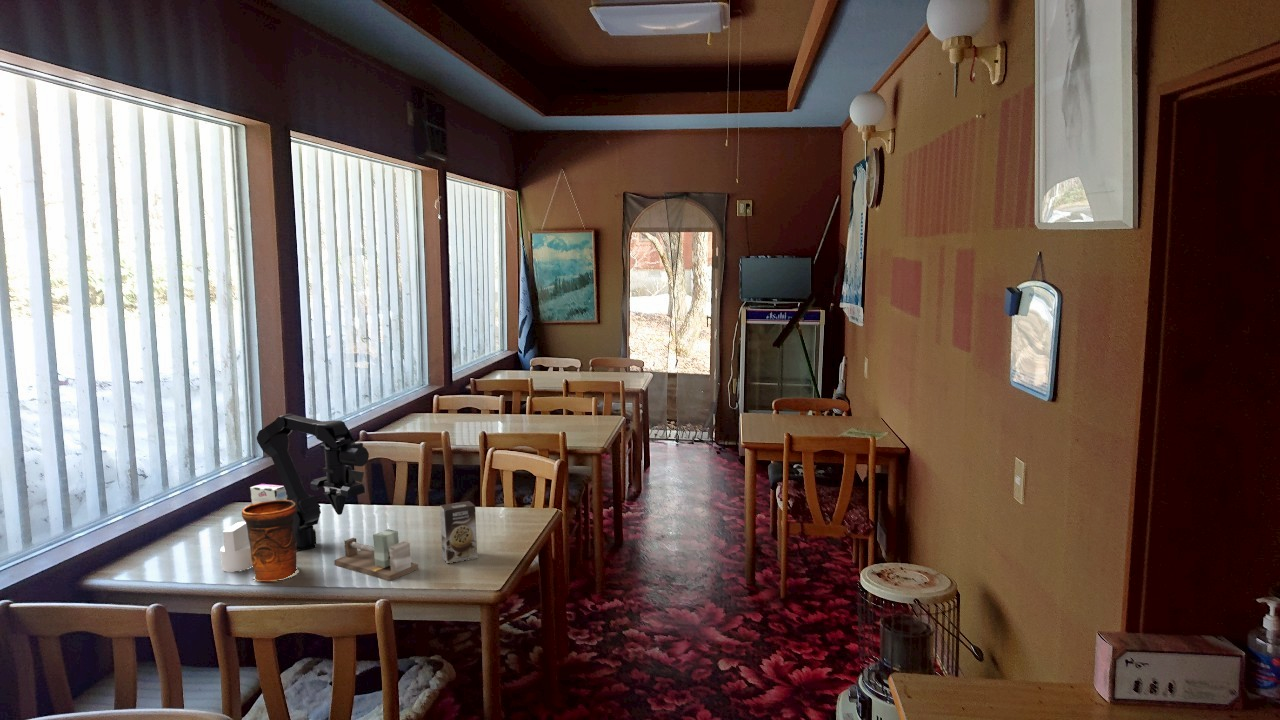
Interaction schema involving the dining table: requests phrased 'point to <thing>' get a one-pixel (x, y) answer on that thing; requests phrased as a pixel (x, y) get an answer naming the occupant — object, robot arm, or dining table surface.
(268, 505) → the vessel
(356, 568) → the rod stand
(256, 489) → the candy bar box
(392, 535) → the sleeve
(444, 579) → the dining table surface
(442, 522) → the coffee box
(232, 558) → the base with upright slab
